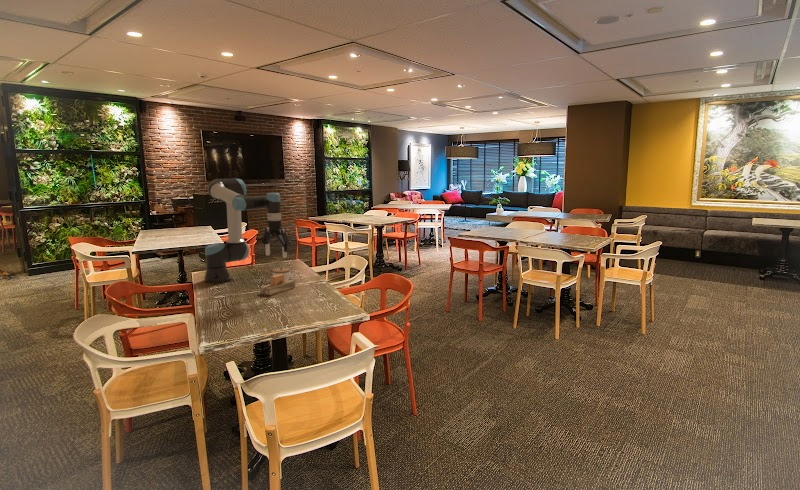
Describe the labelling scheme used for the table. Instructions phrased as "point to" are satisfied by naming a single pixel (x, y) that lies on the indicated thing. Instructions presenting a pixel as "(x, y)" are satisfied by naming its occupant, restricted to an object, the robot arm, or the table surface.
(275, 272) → the lidded jar
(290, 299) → the table surface
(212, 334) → the table surface
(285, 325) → the table surface
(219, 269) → the robot arm
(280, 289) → the brown wooden block
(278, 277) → the wooden arch block
